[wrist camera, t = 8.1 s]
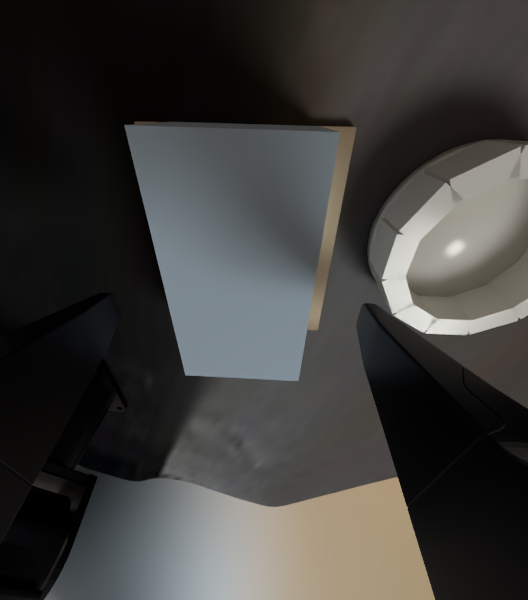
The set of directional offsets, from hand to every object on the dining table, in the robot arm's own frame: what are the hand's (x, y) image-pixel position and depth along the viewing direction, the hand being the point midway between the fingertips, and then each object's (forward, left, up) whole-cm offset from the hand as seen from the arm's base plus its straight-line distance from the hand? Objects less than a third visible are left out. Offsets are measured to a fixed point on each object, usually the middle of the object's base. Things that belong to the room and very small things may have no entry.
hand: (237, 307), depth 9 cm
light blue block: (0, 0, -5) cm, 5 cm away
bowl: (+1, -10, -6) cm, 12 cm away
